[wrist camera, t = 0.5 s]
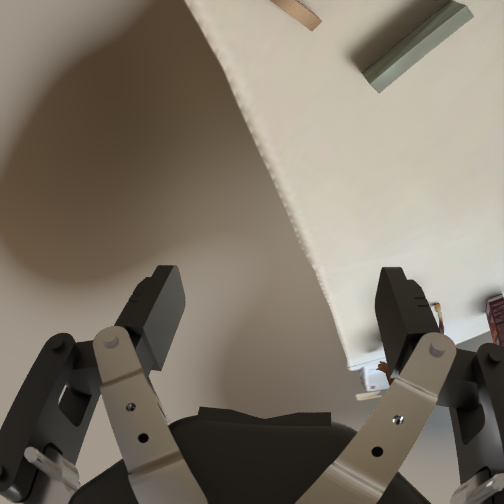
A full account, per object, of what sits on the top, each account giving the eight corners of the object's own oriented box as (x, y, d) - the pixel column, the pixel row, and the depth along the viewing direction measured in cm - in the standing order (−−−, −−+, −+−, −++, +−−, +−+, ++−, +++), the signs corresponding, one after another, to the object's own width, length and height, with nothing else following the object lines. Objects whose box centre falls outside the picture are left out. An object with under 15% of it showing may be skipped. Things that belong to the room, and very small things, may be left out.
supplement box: (486, 299, 63) (502, 358, 53) (502, 293, 61) (520, 351, 51) (484, 314, 68) (498, 368, 58) (499, 308, 66) (514, 362, 56)
